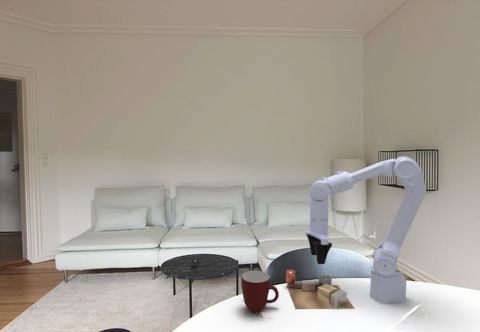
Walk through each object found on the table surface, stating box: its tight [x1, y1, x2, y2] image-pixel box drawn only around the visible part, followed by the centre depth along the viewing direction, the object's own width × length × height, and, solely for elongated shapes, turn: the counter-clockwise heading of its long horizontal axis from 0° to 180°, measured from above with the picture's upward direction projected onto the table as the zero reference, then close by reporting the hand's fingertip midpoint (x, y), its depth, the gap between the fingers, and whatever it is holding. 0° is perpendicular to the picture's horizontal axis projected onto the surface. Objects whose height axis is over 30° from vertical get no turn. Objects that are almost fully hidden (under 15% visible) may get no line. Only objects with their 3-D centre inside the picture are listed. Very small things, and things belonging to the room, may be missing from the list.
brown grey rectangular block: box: [330, 288, 348, 310], centre depth 94 cm, size 5×2×4 cm, turn 130°
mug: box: [240, 270, 280, 315], centre depth 92 cm, size 11×8×10 cm
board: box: [287, 284, 356, 310], centre depth 99 cm, size 17×15×1 cm
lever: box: [285, 269, 332, 291], centre depth 104 cm, size 14×5×5 cm, turn 86°
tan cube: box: [318, 284, 337, 304], centre depth 97 cm, size 4×4×4 cm
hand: (317, 259), depth 105 cm, fingers open, 7 cm apart
